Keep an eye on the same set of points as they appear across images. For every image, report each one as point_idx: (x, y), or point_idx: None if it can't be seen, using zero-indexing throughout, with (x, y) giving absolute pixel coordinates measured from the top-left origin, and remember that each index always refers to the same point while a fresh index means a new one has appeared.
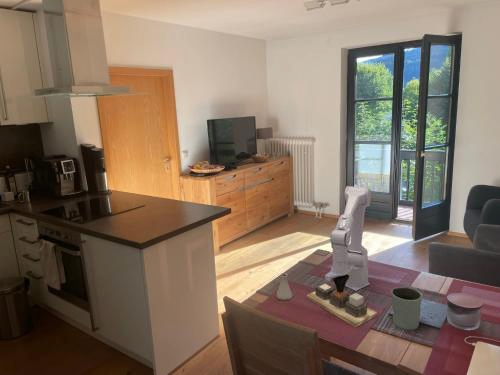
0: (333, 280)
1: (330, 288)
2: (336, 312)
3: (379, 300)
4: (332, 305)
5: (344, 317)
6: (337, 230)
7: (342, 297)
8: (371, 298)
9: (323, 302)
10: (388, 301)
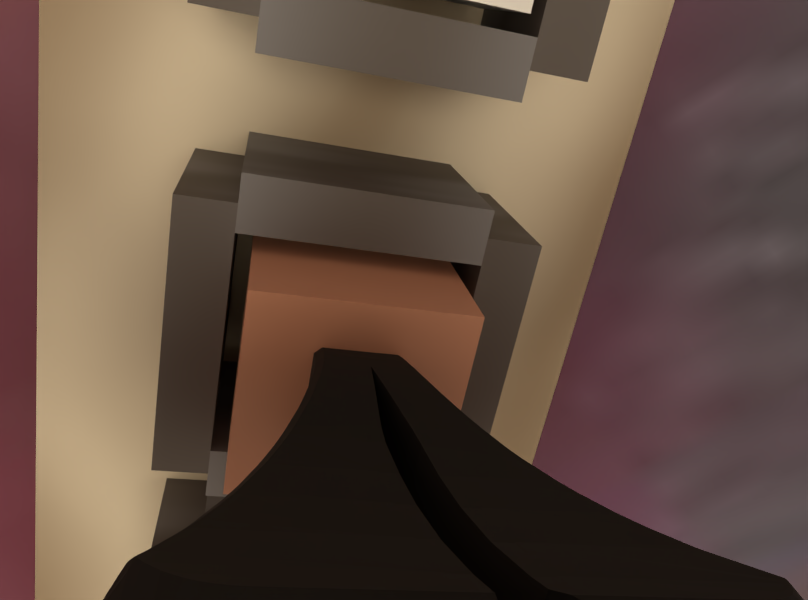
0: (226, 501)
1: (481, 4)
2: (37, 408)
3: (777, 517)
4: (167, 236)
5: (36, 544)
6: None
7: None
8: (780, 437)
9: (120, 34)
10: (800, 583)
